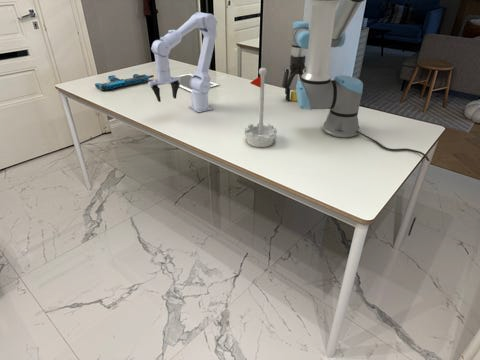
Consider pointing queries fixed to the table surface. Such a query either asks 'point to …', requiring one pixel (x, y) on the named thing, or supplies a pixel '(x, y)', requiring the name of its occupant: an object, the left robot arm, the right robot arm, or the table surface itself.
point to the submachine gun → (122, 81)
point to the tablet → (186, 82)
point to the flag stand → (260, 120)
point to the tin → (293, 95)
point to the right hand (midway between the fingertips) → (294, 99)
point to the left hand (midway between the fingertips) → (167, 99)
